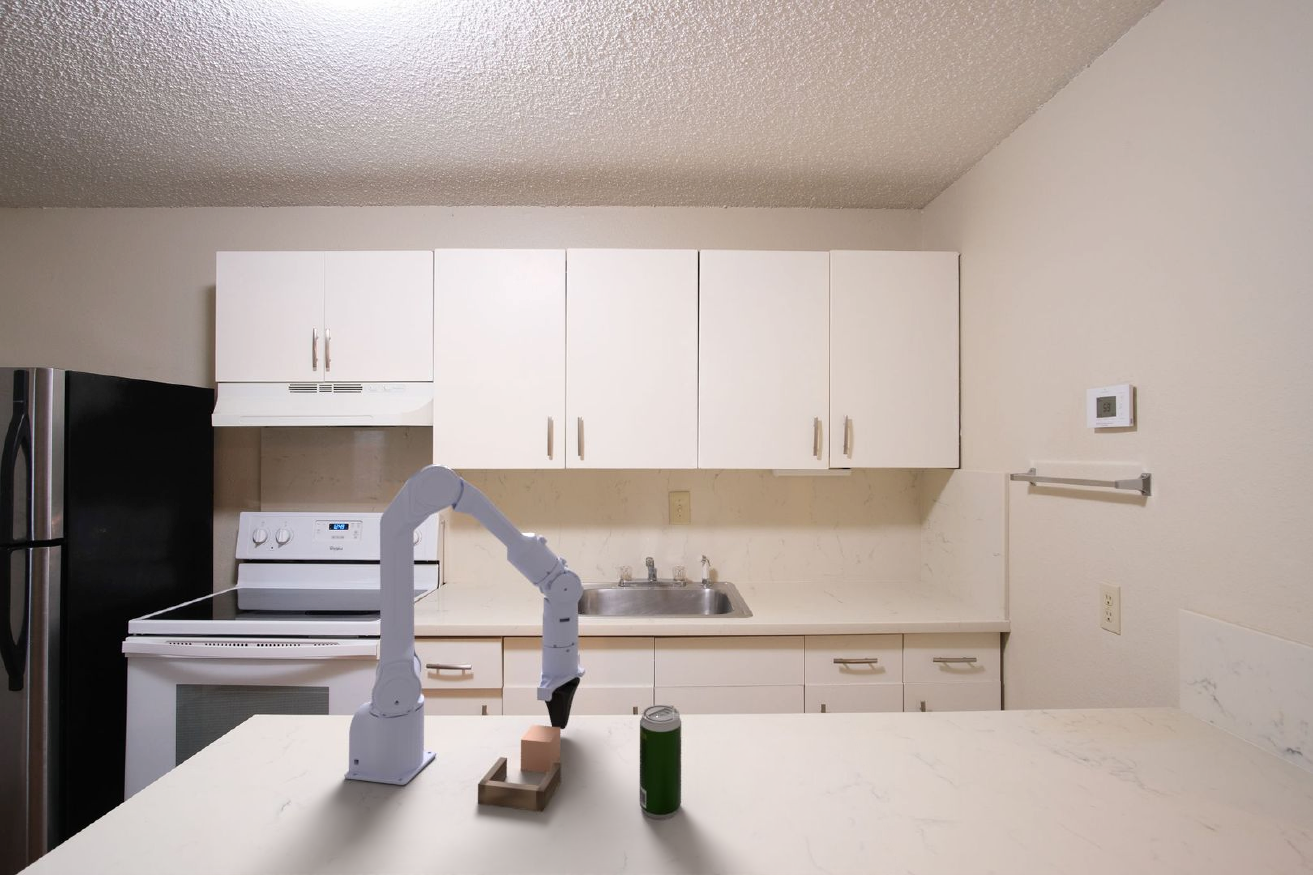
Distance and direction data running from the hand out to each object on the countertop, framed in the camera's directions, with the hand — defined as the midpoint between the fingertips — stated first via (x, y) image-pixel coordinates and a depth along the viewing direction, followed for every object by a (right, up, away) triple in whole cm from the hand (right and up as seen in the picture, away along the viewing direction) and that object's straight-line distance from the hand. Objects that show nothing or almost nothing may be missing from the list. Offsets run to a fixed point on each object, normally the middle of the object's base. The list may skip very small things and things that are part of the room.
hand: (559, 726), depth 90 cm
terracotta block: (-1, -1, -8) cm, 8 cm away
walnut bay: (-3, -1, -15) cm, 15 cm away
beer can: (+16, -1, -18) cm, 24 cm away
